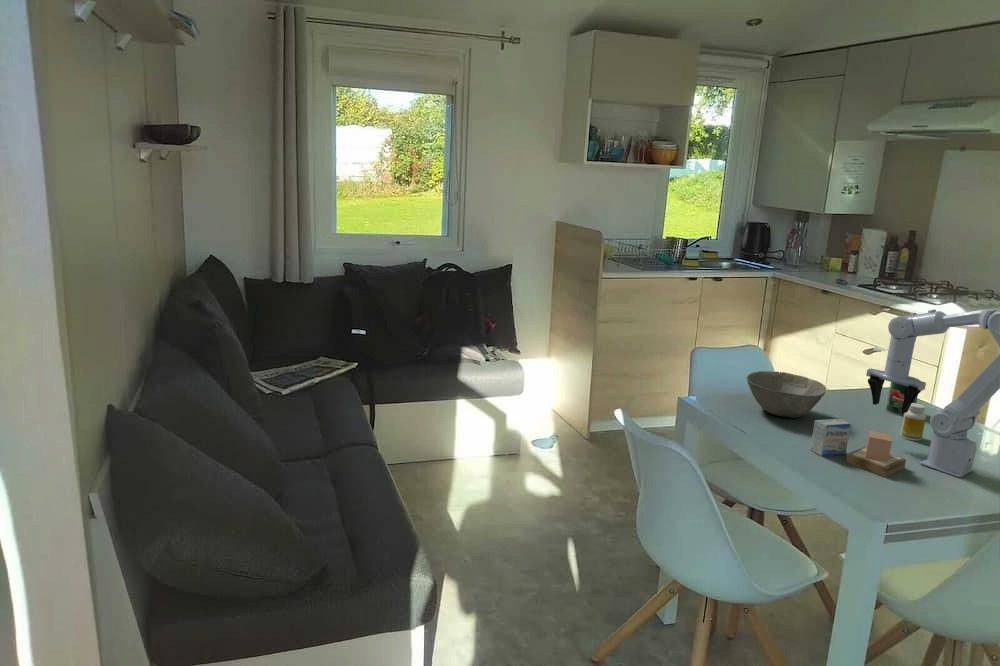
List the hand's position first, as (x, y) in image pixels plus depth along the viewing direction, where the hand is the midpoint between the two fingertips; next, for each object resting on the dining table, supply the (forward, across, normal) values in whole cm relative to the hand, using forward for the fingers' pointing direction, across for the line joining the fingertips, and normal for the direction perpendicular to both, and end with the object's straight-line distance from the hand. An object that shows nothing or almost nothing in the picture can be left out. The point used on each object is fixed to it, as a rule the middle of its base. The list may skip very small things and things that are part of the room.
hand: (889, 408), depth 193 cm
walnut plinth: (+10, -6, +17) cm, 21 cm away
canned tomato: (+11, +10, -32) cm, 35 cm away
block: (+8, -6, +17) cm, 20 cm away
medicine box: (+11, +5, +20) cm, 23 cm away
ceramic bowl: (+11, +29, +3) cm, 31 cm away
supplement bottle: (+11, -2, -12) cm, 16 cm away
